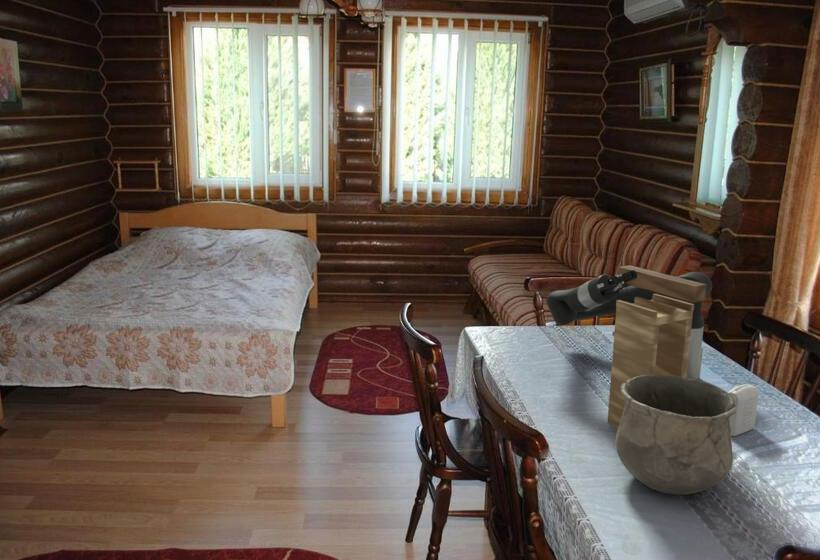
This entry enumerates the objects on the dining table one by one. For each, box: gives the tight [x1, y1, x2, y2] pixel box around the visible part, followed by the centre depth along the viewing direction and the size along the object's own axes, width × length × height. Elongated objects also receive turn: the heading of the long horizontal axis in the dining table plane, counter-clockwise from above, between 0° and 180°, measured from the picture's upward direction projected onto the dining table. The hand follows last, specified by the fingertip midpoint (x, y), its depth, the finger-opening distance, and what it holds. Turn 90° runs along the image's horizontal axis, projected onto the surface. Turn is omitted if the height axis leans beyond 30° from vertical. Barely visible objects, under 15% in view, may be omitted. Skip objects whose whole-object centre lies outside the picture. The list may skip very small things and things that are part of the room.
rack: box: [607, 294, 694, 429], centre depth 177 cm, size 14×12×34 cm
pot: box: [615, 375, 737, 496], centre depth 150 cm, size 25×24×21 cm
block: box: [617, 264, 706, 303], centre depth 175 cm, size 4×24×4 cm, turn 30°
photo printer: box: [727, 383, 760, 437], centre depth 177 cm, size 10×4×12 cm, turn 123°
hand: (641, 272), depth 180 cm, fingers closed on block, 4 cm apart
